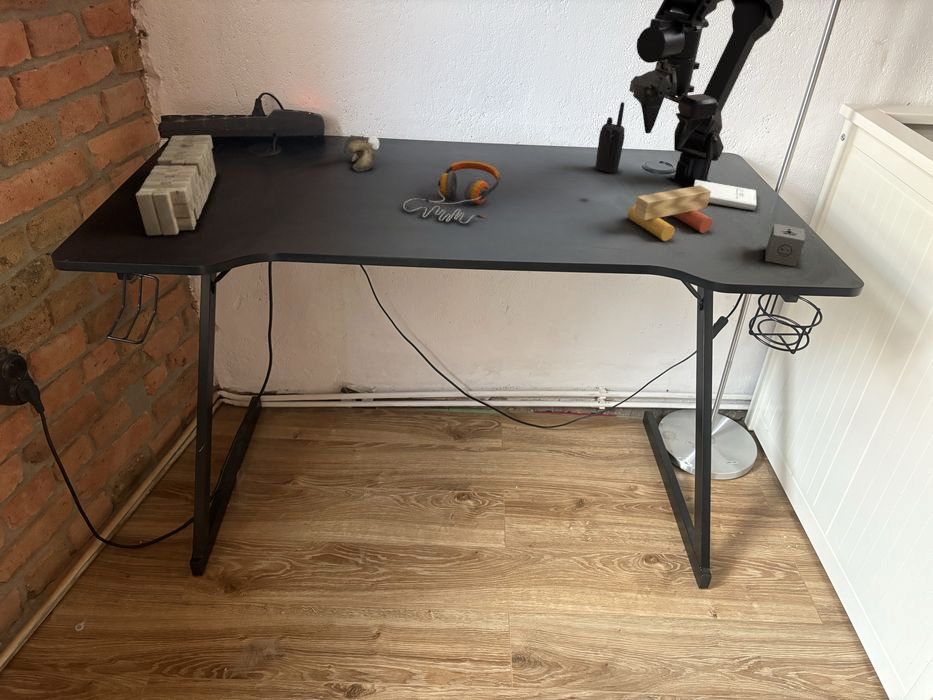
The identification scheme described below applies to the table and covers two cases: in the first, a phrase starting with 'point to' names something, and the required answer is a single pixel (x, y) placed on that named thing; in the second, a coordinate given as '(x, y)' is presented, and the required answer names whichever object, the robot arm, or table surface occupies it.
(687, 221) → the terracotta rod
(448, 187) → the headphones
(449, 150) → the table surface
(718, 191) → the hard drive
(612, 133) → the two-way radio
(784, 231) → the dice cube
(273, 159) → the table surface
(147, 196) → the block tower
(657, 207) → the light wooden bar
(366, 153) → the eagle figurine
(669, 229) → the ochre rod
